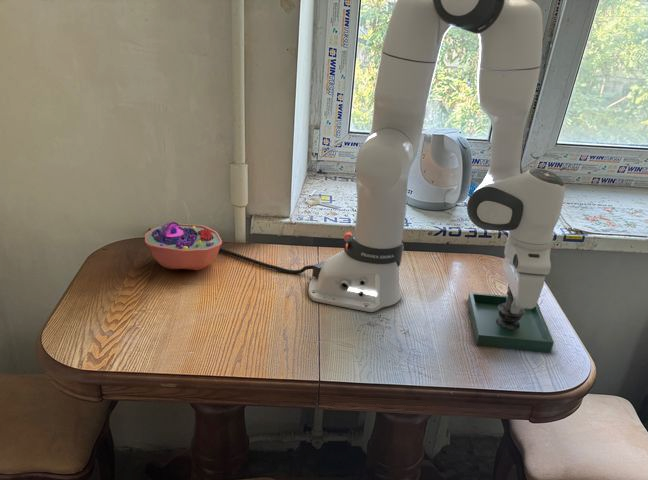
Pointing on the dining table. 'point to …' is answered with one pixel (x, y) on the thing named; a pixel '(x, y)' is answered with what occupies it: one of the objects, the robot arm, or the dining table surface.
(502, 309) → the dark grey chess piece
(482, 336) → the tray
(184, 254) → the cell model
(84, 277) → the dining table surface
